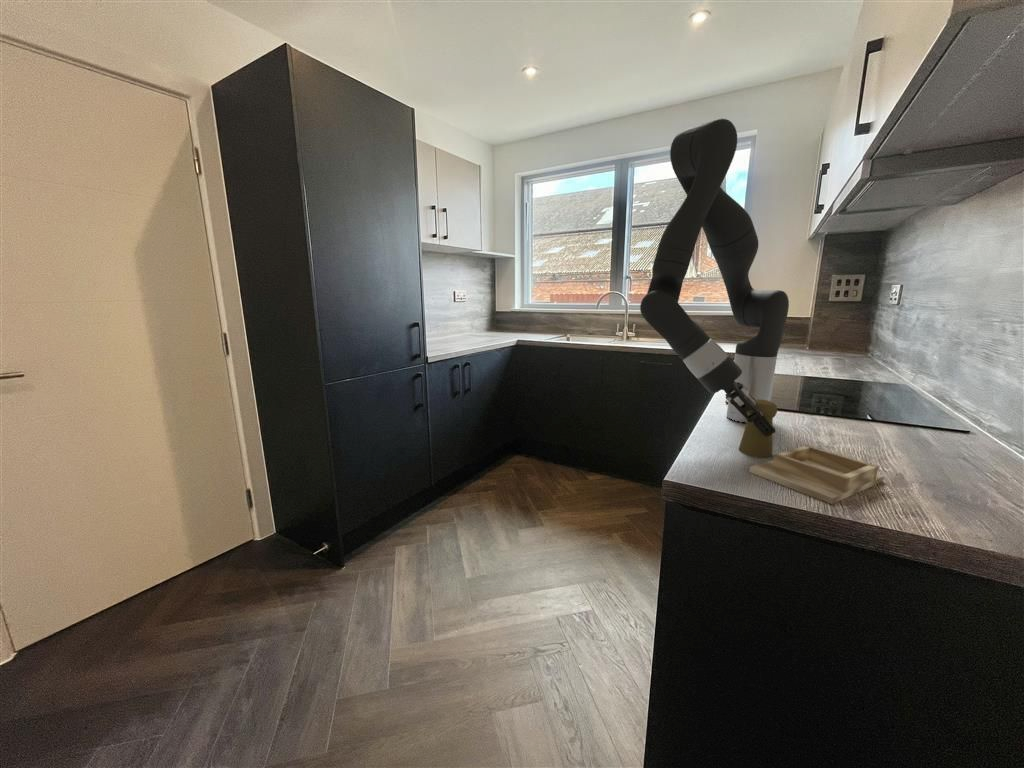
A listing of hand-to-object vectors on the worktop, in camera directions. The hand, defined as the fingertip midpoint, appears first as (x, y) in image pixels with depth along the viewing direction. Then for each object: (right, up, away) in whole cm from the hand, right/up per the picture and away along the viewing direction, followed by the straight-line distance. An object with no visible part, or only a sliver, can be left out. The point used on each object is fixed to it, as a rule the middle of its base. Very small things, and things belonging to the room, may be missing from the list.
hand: (769, 429), depth 81 cm
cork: (-2, -5, +2) cm, 6 cm away
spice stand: (+2, -7, -9) cm, 12 cm away
